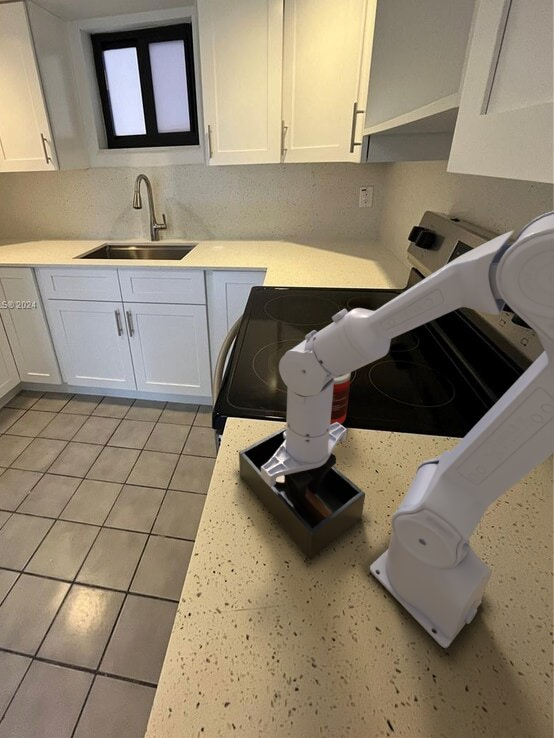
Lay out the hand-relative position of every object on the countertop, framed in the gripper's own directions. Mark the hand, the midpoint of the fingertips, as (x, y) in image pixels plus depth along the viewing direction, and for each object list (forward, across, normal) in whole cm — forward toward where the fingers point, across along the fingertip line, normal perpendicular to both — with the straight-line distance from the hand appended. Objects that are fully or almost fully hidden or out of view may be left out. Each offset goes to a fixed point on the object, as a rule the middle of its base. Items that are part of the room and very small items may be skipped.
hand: (303, 493), depth 53 cm
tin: (+2, 0, -2) cm, 2 cm away
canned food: (+2, -17, -12) cm, 21 cm away
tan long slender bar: (+1, 0, -1) cm, 2 cm away
